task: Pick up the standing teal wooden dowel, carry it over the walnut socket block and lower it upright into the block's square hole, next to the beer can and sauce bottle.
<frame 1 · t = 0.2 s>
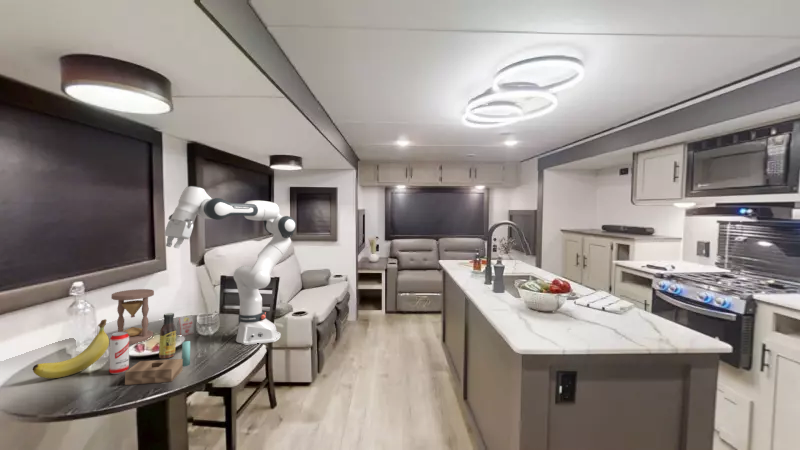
hand: (172, 247, 150), 51 cm above the table, tool tilted 20°, fingers open, 8 cm apart
beer can: (119, 372, 139), on the table
banana: (72, 374, 136), on the table
socket block: (155, 377, 134), on the table
peg: (185, 364, 147), on the table
hourglass: (132, 339, 176), on the table
sauce bottle: (167, 356, 155), on the table
tea bag: (185, 334, 185), on the table
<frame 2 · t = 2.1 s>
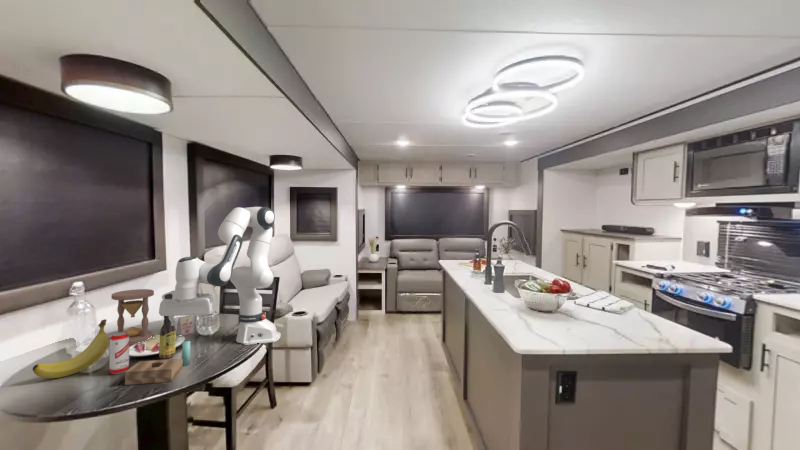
hand: (186, 325, 146), 18 cm above the table, tool pointing down, fingers open, 8 cm apart
nothing on the table moved.
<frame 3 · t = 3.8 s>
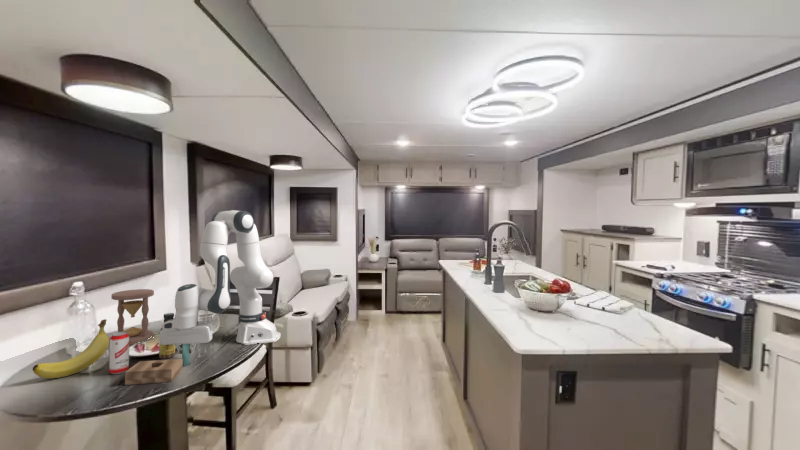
hand: (186, 353, 147), 5 cm above the table, tool pointing down, fingers closed on peg, 3 cm apart
peg: (185, 364, 147), on the table, touching gripper
everything else where it was.
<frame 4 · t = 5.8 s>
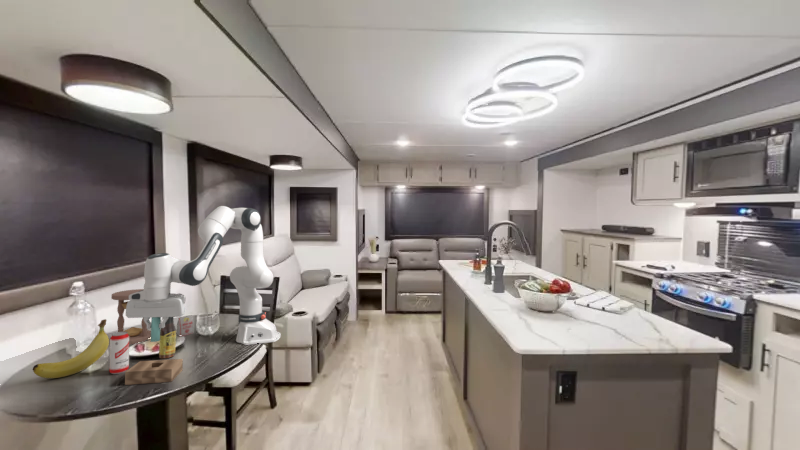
hand: (155, 327, 134), 20 cm above the table, tool pointing down, fingers closed on peg, 3 cm apart
peg: (155, 340, 134), point 15 cm above the table, touching gripper
everything else where it was.
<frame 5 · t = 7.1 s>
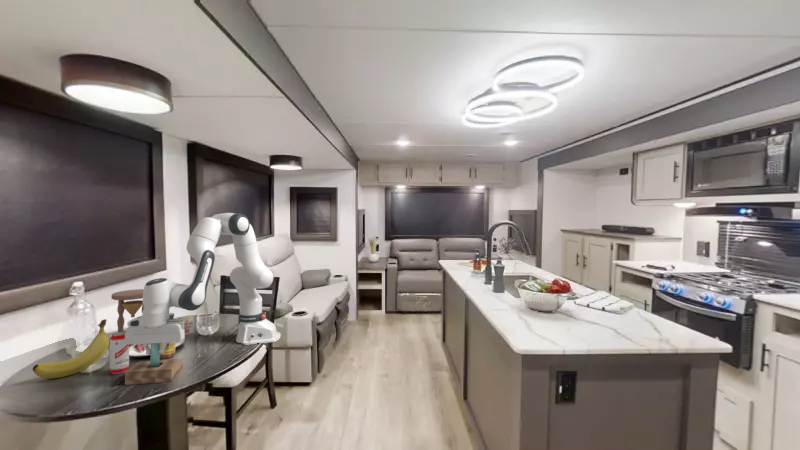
hand: (155, 353, 134), 10 cm above the table, tool pointing down, fingers closed on peg, 3 cm apart
peg: (154, 366, 134), point 5 cm above the table, touching gripper
everything else where it was.
when the fingers open (7 cm above the table, at t = 7.9 s): peg drops 1 cm, resting in socket block.
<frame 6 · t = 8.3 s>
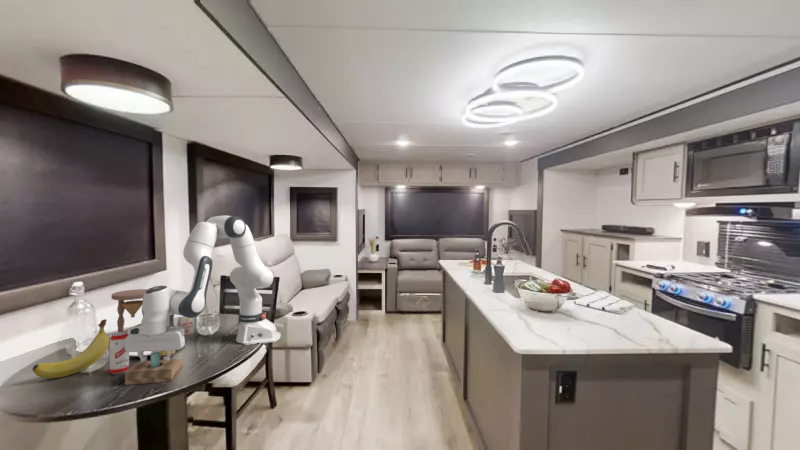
hand: (155, 361, 134), 7 cm above the table, tool pointing down, fingers open, 7 cm apart
peg: (155, 377, 134), resting in socket block
everything else where it was.
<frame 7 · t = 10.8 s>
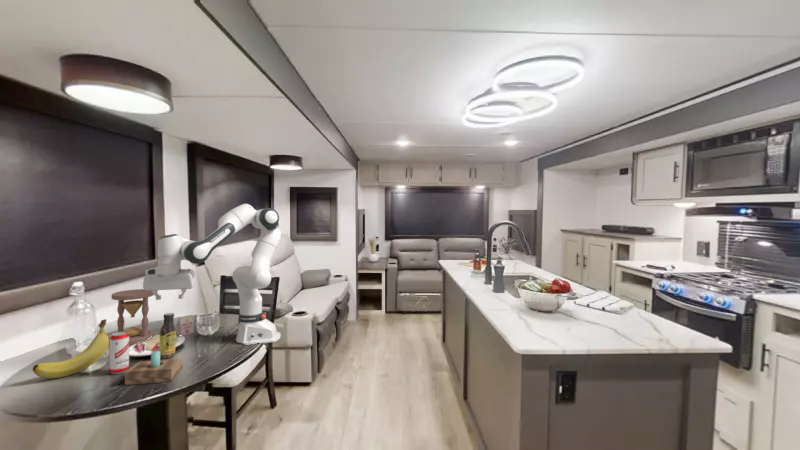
hand: (169, 299, 155), 27 cm above the table, tool pointing down, fingers open, 8 cm apart
nothing on the table moved.
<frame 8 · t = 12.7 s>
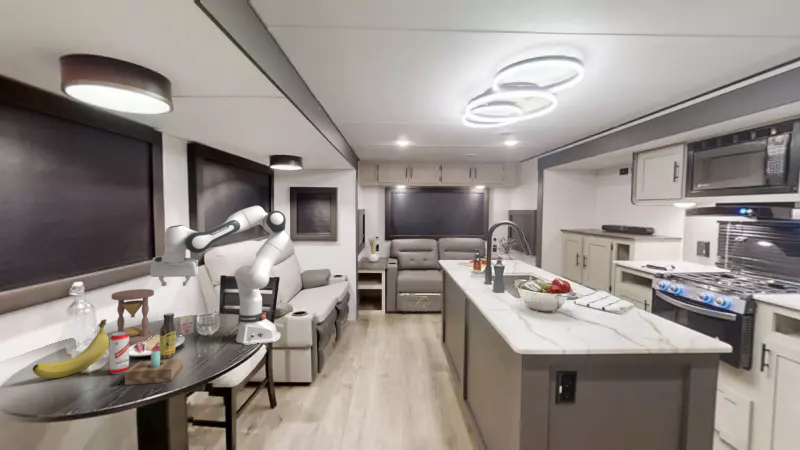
hand: (174, 285, 165), 31 cm above the table, tool pointing down, fingers open, 8 cm apart
nothing on the table moved.
at the end: peg 0.1 cm off-centre on the socket block, point 0.0 cm above the socket block's base; peg tilted 0°; the gripper is holding nothing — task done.
